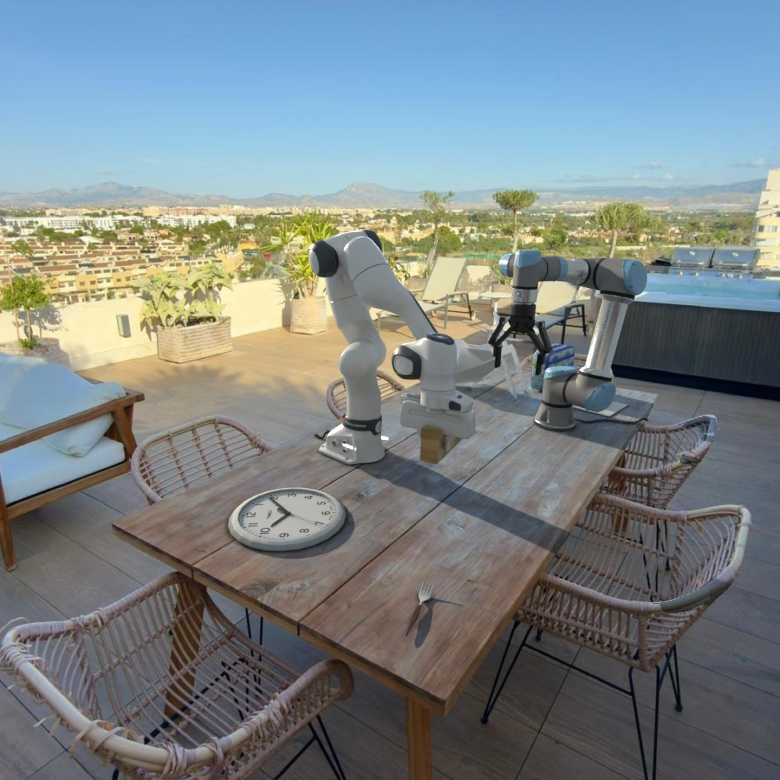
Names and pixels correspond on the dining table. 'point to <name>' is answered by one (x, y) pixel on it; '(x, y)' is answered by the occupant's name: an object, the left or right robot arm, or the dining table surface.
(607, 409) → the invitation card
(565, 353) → the lunch box
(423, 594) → the fork
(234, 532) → the wall clock
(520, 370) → the white plastic object
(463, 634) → the dining table surface
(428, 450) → the bar
